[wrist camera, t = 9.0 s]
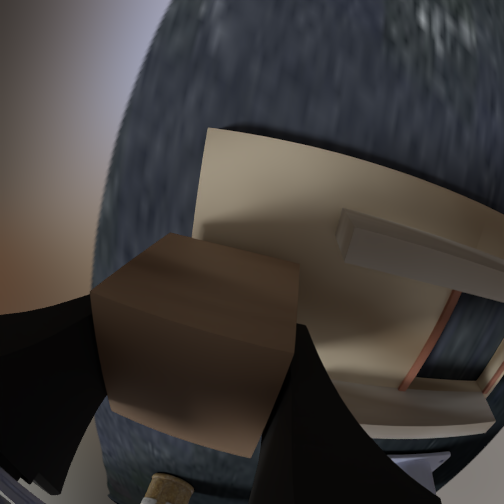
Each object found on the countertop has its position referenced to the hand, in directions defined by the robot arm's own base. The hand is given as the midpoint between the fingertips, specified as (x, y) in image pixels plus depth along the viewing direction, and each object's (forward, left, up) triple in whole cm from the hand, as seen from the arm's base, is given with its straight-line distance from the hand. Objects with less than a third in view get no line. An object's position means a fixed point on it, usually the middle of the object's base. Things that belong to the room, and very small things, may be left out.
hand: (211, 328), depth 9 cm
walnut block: (0, 0, -1) cm, 1 cm away
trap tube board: (0, -7, -3) cm, 8 cm away
